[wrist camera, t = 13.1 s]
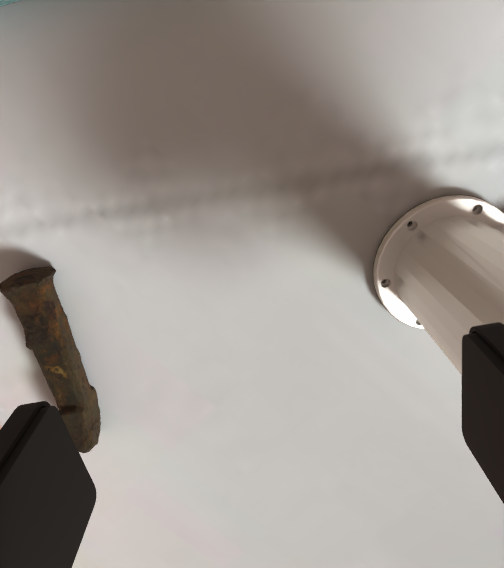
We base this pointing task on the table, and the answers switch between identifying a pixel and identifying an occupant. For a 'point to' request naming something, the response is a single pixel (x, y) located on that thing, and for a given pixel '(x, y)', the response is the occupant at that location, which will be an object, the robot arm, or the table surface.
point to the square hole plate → (7, 2)
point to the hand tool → (55, 352)
